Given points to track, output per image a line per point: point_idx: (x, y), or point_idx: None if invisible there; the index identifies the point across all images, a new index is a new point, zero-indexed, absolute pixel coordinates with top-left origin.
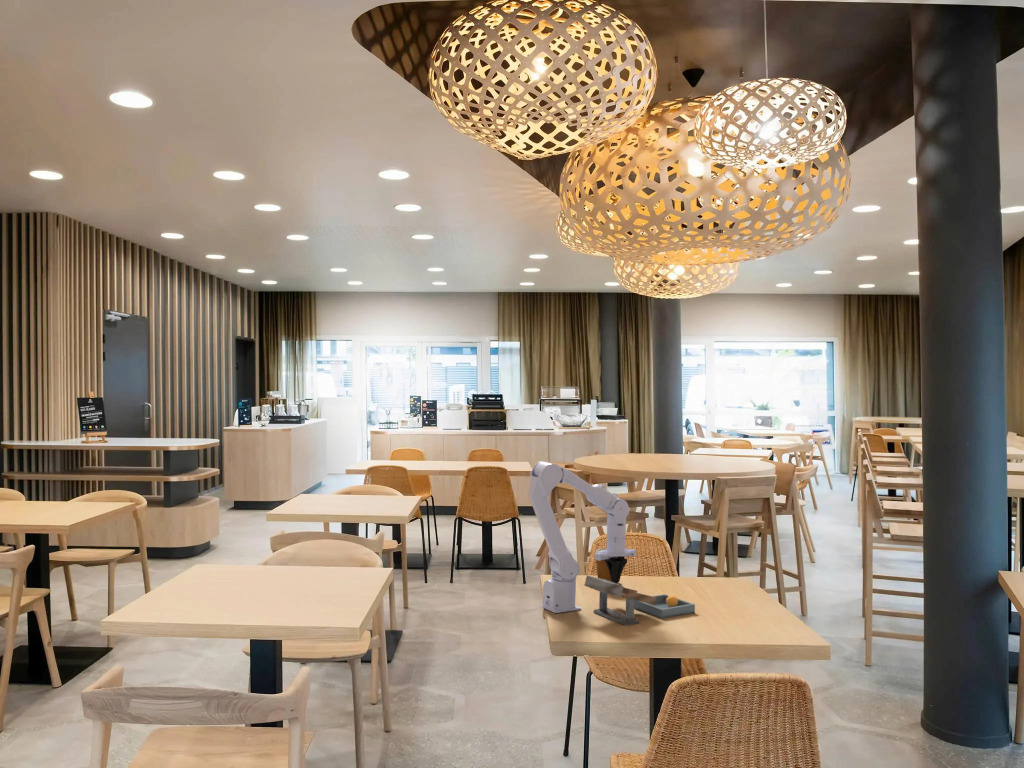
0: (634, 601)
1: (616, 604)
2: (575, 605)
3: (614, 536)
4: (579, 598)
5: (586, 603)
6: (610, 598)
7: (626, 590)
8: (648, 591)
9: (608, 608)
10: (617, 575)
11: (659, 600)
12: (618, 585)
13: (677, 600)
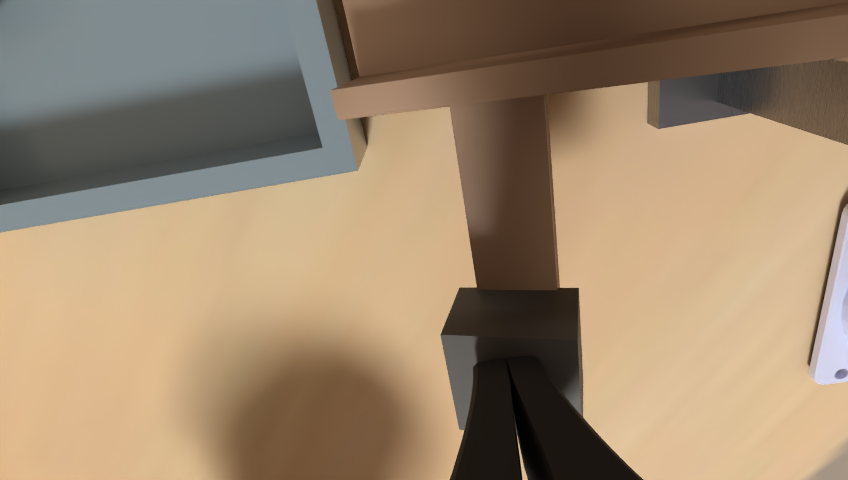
0: (351, 133)
1: (455, 262)
2: (842, 279)
3: None
4: (626, 447)
5: (664, 342)
6: (414, 402)
7: (545, 52)
8: (62, 472)
9: (666, 97)
10: (546, 417)
11: (45, 187)
12: None
13: None
